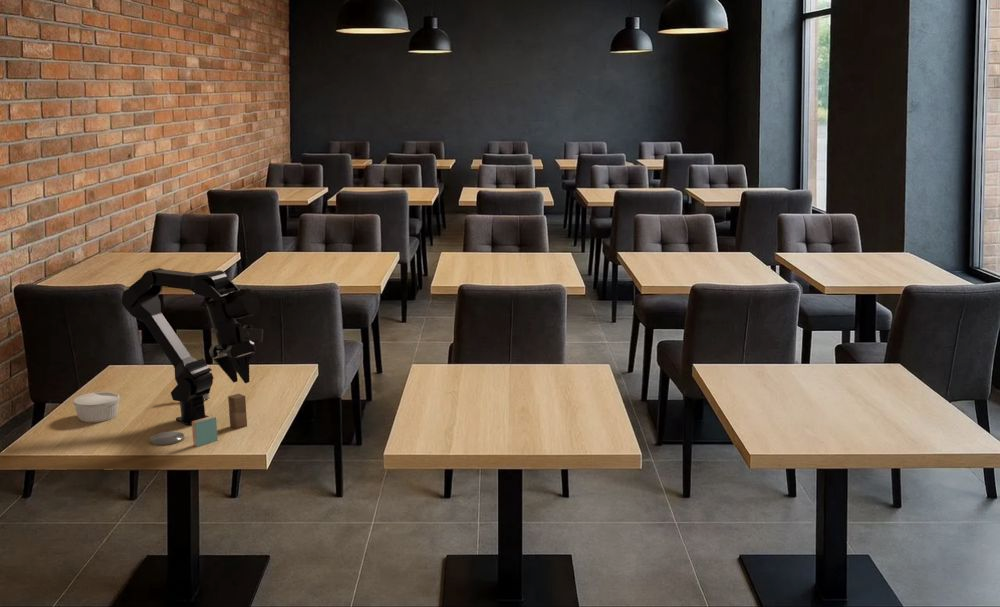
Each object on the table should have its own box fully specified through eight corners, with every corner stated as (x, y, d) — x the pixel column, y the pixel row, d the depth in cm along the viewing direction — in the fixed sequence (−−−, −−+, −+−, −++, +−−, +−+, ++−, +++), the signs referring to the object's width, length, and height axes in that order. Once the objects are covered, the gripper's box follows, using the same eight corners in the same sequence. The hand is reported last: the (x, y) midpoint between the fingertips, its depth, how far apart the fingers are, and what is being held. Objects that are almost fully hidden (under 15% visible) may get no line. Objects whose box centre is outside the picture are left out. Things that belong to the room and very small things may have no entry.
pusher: (230, 426, 262) (228, 396, 260) (240, 423, 264) (238, 393, 262) (236, 429, 260) (234, 398, 258) (247, 426, 262) (245, 395, 260)
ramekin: (128, 410, 275) (127, 391, 274) (109, 425, 264) (107, 405, 263) (88, 409, 276) (86, 390, 275) (67, 423, 265) (65, 404, 264)
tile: (193, 445, 249) (191, 421, 248) (214, 439, 253) (212, 415, 252) (197, 446, 248) (195, 422, 247) (217, 440, 252) (216, 417, 251)
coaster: (143, 439, 253) (143, 437, 253) (173, 431, 258) (173, 429, 258) (160, 447, 247) (160, 445, 247) (190, 438, 253) (190, 436, 253)
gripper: (267, 311, 252) (284, 373, 253) (242, 314, 268) (259, 372, 269) (223, 324, 246) (241, 387, 248) (201, 326, 262) (218, 385, 264)
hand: (241, 382), depth 257 cm, fingers open, 9 cm apart
